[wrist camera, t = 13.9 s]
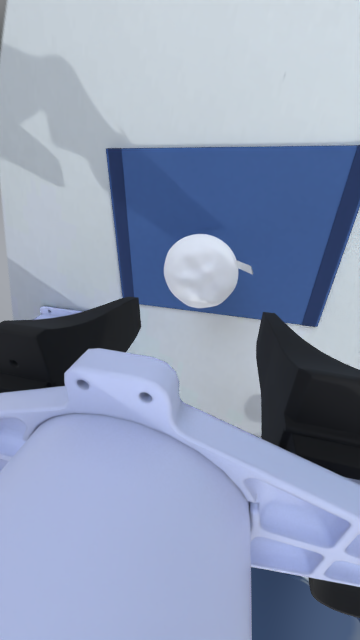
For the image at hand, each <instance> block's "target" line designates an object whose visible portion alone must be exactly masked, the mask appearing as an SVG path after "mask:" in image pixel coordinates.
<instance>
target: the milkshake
mask: <svg viewBox="0 0 360 640" xmlns="http://www.w3.org/2000/svg"><path fill="white" fill-rule="evenodd" d="M238 268H239V269H241V270H243V271H245V272H247V273H250V274H252V275H253V270H252V267H251V266H250V265H248V264H245V263H242V262H240V261H237V260H236V256H235V249H234V240H233V239H232V237H231V235H230V234H229V232H228V230H226V229H223V228H221V227H218V226H214V227H211V228H207V229H204V230H202V231H200V232H198V233H195V234H192V235H189V236H187V237H184V238H182V239H180V240H179V241H177V242H176V243H175V244H174V245H173V246H172V247H171V248H170V250H169V251H168V253H167V256H166V260H165V264H164V277H165V280H166V283H167V285H168V287H169V289H170V291H171V292H172V294H173V295H174V296H175V297H176V298H178V299H179V300H180V301H181V302H183V303H184V304H186V305H188V306H190V307H193V308H207V307H213V306H217V305H219V304H221V303H222V302H223V301H224V300H226V299H227V297H228V296H229V295H230V294H231V293H232V292H233V290H234V289H235V287H236V284H237V281H238Z"/></svg>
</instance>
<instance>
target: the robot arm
mask: <svg viewBox="0 0 360 640" xmlns="http://www.w3.org/2000/svg"><path fill="white" fill-rule="evenodd" d="M40 312H41V315H40V316H38V317H36V318H35V319H33V320H15V321H3V322H1V323H0V640H252V637H251V636H252V634H251V567H256V568H262V569H267V570H272V571H277V572H283V573H288V574H293V575H299V576H304V577H309V578H315V579H320V580H326V581H331V582H336V583H342V584H347V585H352V586H357V587H360V370H358V369H356V368H353V367H351V366H349V365H346V364H344V363H342V362H340V361H338V360H336V359H334V358H332V357H330V356H328V355H326V354H325V353H323V352H321V351H319V350H318V349H316V348H315V347H313V346H312V345H310V344H309V343H307V342H306V341H305V340H303V339H302V338H301V337H300V336H298V335H297V334H296V333H295V332H294V331H293V330H292V329H291V328H289V327H288V326H287V325H286V324H285V323H284V322H283V321H282V320H281V319H280V318H279V317H278V316H277V315H276V314H275V313H269V312H263V314H262V319H261V324H260V329H259V334H258V338H257V345H256V359H257V367H258V374H259V381H260V388H261V407H262V439H261V438H259V437H257V436H255V435H252V434H250V433H248V432H246V431H244V430H242V429H240V428H237V427H235V426H233V425H231V424H229V423H227V422H225V421H222V420H220V419H218V418H216V417H214V416H212V415H210V414H207V413H205V412H203V411H201V410H199V409H197V408H195V407H192V406H190V405H188V404H186V403H184V402H183V401H182V400H181V399H180V395H179V380H178V377H177V373H176V371H175V370H174V369H173V368H172V367H171V366H170V365H169V364H168V363H167V362H165V361H162V360H159V359H157V358H154V357H149V356H143V355H137V354H131V353H126V351H127V350H128V348H129V347H130V346H131V344H132V343H133V341H134V340H135V338H136V336H137V334H138V332H139V330H140V328H141V321H140V309H139V298H138V297H125V298H122V299H119V300H116V301H113V302H110V303H108V304H105V305H102V306H99V307H96V308H93V309H90V310H87V311H84V312H82V311H75V310H68V309H61V308H54V307H47V306H42V307H41V308H40Z"/></svg>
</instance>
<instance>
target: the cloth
mask: <svg viewBox="0 0 360 640" xmlns="http://www.w3.org/2000/svg"><path fill="white" fill-rule="evenodd" d="M106 155H107V163H108V172H109V181H110V190H111V199H112V208H113V216H114V225H115V234H116V243H117V252H118V261H119V270H120V278H121V287H122V296H123V298H125V297H138V298H139V304H143V305H151V306H158V307H166V308H174V309H182V310H190V311H198V312H206V313H214V314H221V315H229V316H237V317H245V318H253V319H262V314H263V312H269V313H275V314H276V315H277V316H278V317H279V318H280V319H281V320H282V321H283V322H284V323H292V324H300V325H305V326H313V327H315V326H316V327H317V326H318V323H319V320H320V318H321V315H322V312H323V309H324V306H325V303H326V301H327V298H328V295H329V292H330V289H331V286H332V284H333V281H334V278H335V275H336V272H337V270H338V267H339V264H340V261H341V258H342V255H343V253H344V250H345V247H346V244H347V241H348V238H349V236H350V233H351V230H352V227H353V224H354V222H355V219H356V216H357V213H358V210H359V207H360V145H356V146H279V147H201V148H123V149H121V148H112V149H106ZM214 226H218V227H221V228H223V229H226V230H228V232H229V234H230V235H231V237H232V239H233V240H234V249H235V256H236V260H237V261H240V262H242V263H245V264H248V265H250V266H251V267H252V270H253V275H252V274H250V273H247V272H245V271H243V270H241V269H239V268H238V281H237V284H236V287H235V289H234V290H233V292H232V293H231V294H230V295H229V296H228V297H227V299H226V300H224V301H223V302H222V303H221V304H219V305H217V306H213V307H207V308H193V307H190V306H188V305H186V304H184V303H183V302H181V301H180V300H179V299H178V298H176V297H175V296H174V295H173V294H172V292H171V291H170V289H169V287H168V285H167V283H166V280H165V277H164V264H165V260H166V256H167V253H168V251H169V250H170V248H171V247H172V246H173V245H174V244H175V243H176V242H177V241H179V240H180V239H182V238H184V237H187V236H189V235H192V234H195V233H198V232H200V231H202V230H204V229H207V228H211V227H214Z"/></svg>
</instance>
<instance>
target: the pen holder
mask: <svg viewBox="0 0 360 640" xmlns="http://www.w3.org/2000/svg"><path fill="white" fill-rule="evenodd" d="M309 585H310V591H311V594H312V595H313V597H314V598H315V599H316V600H317V601H319V602H320V603H322V604H324V605H325V606H327V607H329V608H331V609H333V610H336V611H339V612H341V613H344V614H347V615H351V616H354V617H358V618H360V587H357V586H352V585H347V584H342V583H336V582H331V581H326V580H320V579H315V578H309Z"/></svg>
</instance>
